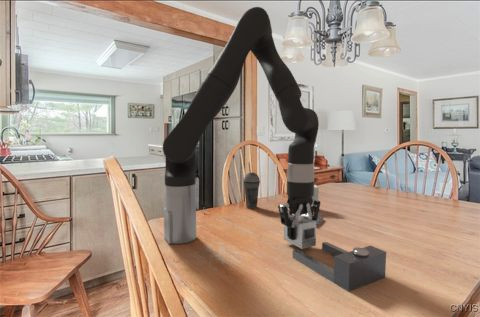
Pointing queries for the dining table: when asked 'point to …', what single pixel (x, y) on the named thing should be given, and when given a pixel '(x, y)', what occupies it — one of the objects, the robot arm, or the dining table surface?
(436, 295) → the dining table surface
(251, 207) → the beverage cup
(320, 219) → the woven mat
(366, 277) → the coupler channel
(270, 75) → the robot arm
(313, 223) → the block
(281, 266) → the dining table surface
